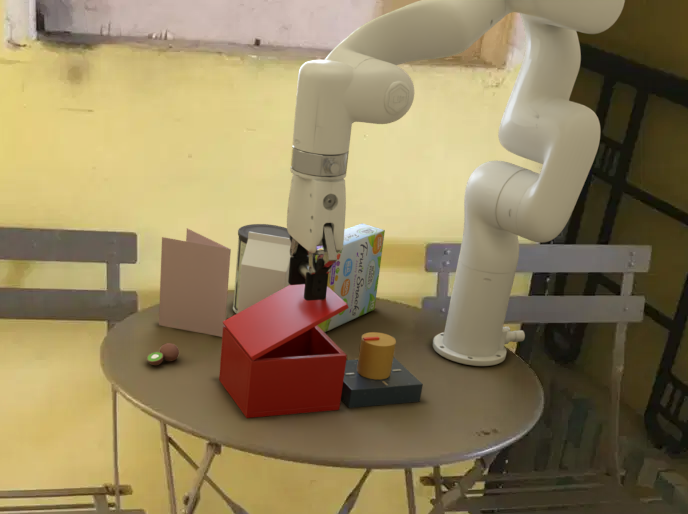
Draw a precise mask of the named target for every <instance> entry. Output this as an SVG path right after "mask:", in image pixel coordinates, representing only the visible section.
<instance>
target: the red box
mask: <svg viewBox="0 0 688 514" xmlns="http://www.w3.org/2000/svg"><path fill="white" fill-rule="evenodd" d="M347 358H348V355H347V354H346V353H345V351H343V350H342V348H340V346H339V345H338V344H336V342H335V341H333V339H332V338H330V337H329V335H328V334H327V333H326V332H323V330H322V329H321V328H320V327H319V326H318V325H317V326H315V327H313V328H311V329H310V330H308V331H306V332H304V333H302V334H301V335H299V336H297V337H295V338H293V339H291V340H290V341H288V342H286V343H284V344H282V345H281V346H279V347H277V348H275V349H273V350H271V351H270V352H268V353H266V354H264V355H262V356H261V357H259V358H257V359H255V360H252V359H251V358H250V357H249V356H248V354H247V353H246V352H245V351H244V349H243V348H242V347H241V346H240V344H239V343H238V342H237V341H236V339H235V338H234V337H233V336H232V335H231V333H230V332H229V331H228V330H227V328H226V327H225V326H223V333H222V337H221V349H220V363H219V375H218V380H219V382H220V383H221V385H222V387H223V388H224V389H225V390H226V392H227V393H228V394H229V396H230V397H231V399H232V401H234V403H235V404H236V405H237V407H238V408H239V409H240V411H241V412H242V414H243V416H245V418H246V419H249V418H250V419H253V418H263V417H273V416H285V415H297V414H309V413H319V412H329V411H330V412H331V411H339V410H340V409H341V408H340V407H341V402H342V400H341V394H342V387H343V380H344V373H345V366H346V360H348V359H347Z"/></svg>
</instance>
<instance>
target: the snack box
mask: <svg viewBox="0 0 688 514" xmlns="http://www.w3.org/2000/svg"><path fill="white" fill-rule="evenodd" d="M385 233H386V231H385V229H384V228H379V227H376V226H373V225H369V224H366V223H362V222H361V223H359V224H356V225H353V226H351V227H348V228H345V229H344V241H343V248H342V250H341V251H340V252H336V254H337V261H336V262H335V263H334V264H333V265H332V267H331V268H330V273H329V274H328V284H327V286H328V287H329V288H330V289H331V290H332V291H334V292H335V293H336V294H337V295H338V296H339V297H340V298H341V299H342V300H343V301H344V302H345V303H347V305H348V307H349V308H348V309H346V310H344V311H342V312H340V313H339V314H337V315H335V316H333V317H331V318H330V319H328V320H326V321H324V322H322V323H320V324H319V325H318V326H319V327H320V328H321V329H322V330H323V332H324V333H327V332H329V331H331V330H333V329H335V328H337V327H340V326H341V325H344V324H347V323H348V322H350V321H353V320H354V319H357V318H359V317H361V316H363V315H365V314H367V313H370V312H372V311H374V310H375V309H376V301H377V294H378V286H379V279H380V270H381V264H382V256H383V247H384V240H385ZM316 249H317V250H324V249H323V246H317V248H316ZM322 258H323V255H316V262H317V261H318V260H319V259H322Z"/></svg>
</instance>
